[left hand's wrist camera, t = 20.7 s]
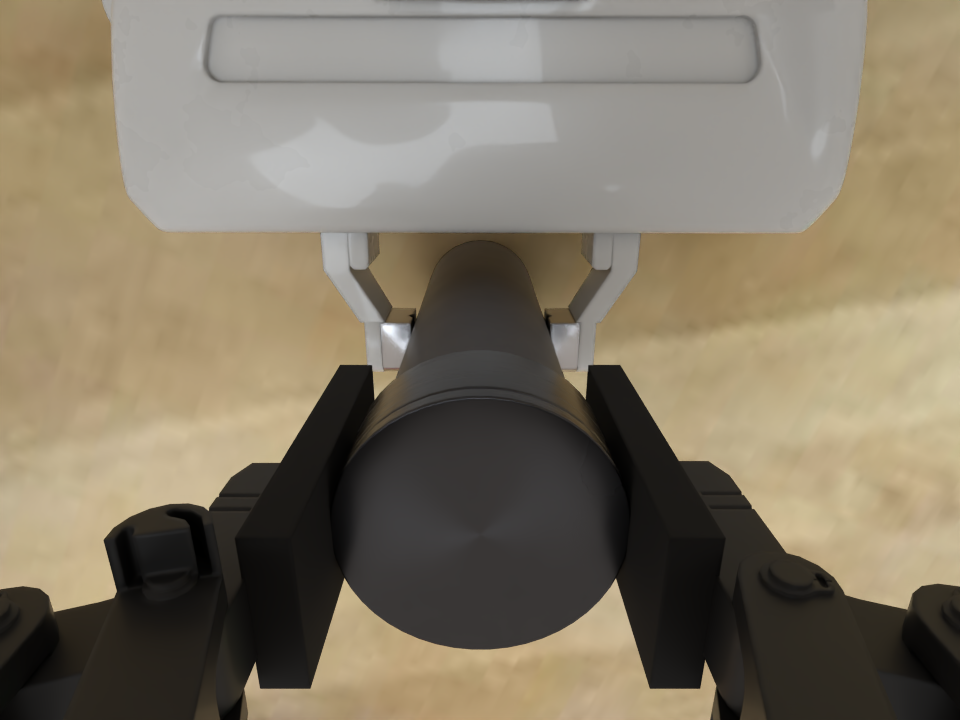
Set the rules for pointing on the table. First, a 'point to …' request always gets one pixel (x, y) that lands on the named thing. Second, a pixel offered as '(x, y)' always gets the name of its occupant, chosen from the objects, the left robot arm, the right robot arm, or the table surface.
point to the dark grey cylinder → (480, 309)
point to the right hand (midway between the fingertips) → (481, 366)
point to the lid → (480, 503)
